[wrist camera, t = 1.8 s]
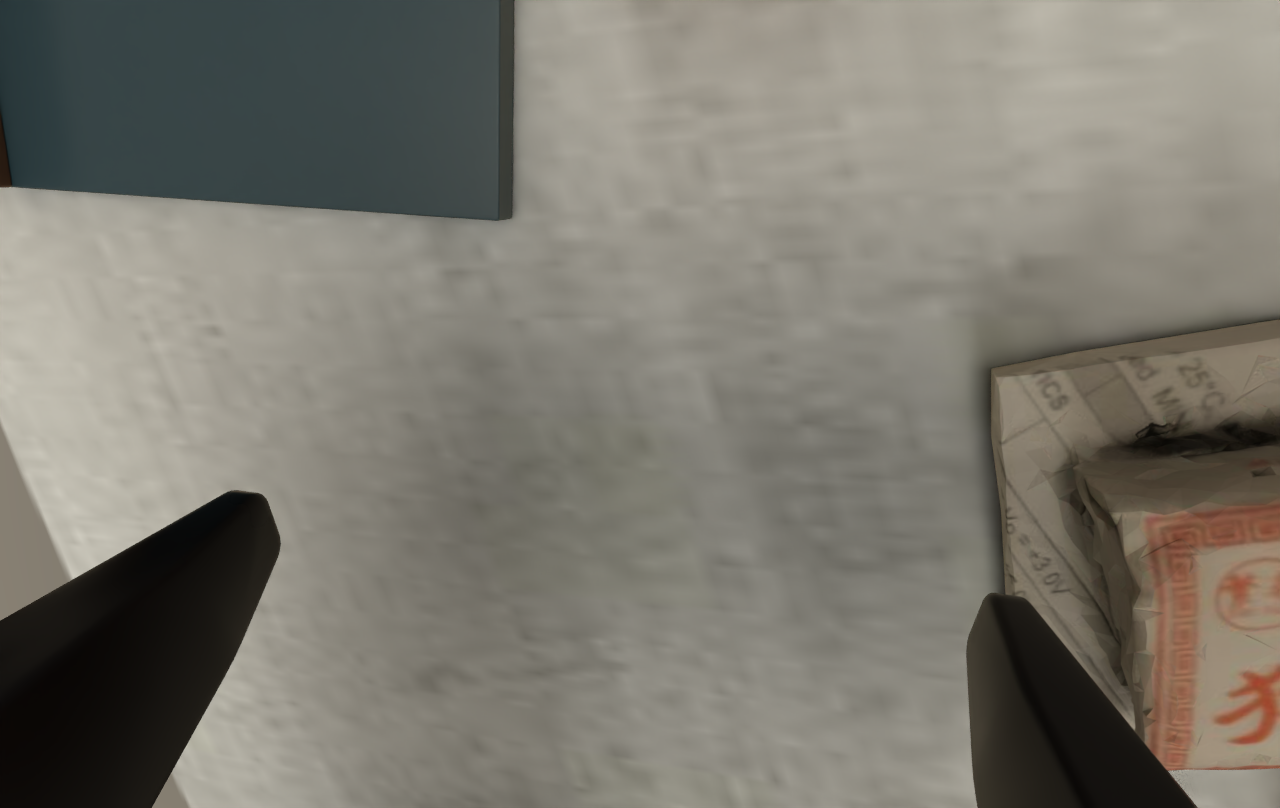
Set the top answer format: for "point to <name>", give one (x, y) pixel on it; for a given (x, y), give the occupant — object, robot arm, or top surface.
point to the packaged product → (1155, 530)
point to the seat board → (263, 102)
